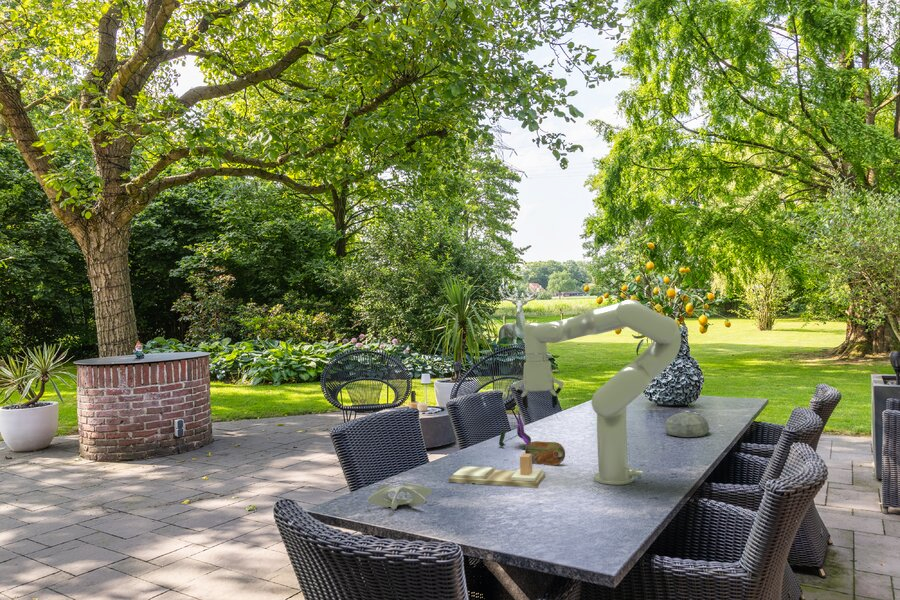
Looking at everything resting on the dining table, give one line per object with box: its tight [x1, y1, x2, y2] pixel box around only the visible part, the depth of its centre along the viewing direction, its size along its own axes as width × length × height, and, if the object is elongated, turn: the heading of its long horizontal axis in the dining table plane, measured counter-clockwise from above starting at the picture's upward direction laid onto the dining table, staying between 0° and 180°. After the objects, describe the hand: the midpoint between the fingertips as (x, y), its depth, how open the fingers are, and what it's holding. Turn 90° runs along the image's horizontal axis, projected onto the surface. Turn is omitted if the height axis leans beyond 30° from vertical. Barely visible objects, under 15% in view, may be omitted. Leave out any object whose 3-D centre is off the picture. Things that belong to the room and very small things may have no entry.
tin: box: [524, 440, 566, 466], centre depth 232 cm, size 15×3×8 cm, turn 62°
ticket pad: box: [448, 465, 546, 489], centre depth 212 cm, size 30×14×3 cm, turn 71°
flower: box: [498, 410, 532, 447], centre depth 263 cm, size 15×15×14 cm
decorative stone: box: [664, 410, 710, 438], centre depth 277 cm, size 18×21×10 cm
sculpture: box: [367, 481, 433, 510], centre depth 187 cm, size 18×20×6 cm
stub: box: [511, 453, 543, 481], centre depth 209 cm, size 8×12×7 cm, turn 161°
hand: (540, 407), depth 216 cm, fingers open, 9 cm apart
